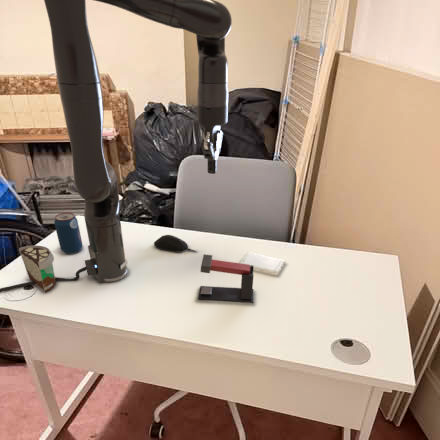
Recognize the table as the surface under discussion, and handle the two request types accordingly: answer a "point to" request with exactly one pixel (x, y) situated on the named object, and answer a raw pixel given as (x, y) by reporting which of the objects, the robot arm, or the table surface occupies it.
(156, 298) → the table surface
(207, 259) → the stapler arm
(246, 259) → the hard drive
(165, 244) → the gaming mouse
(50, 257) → the food container
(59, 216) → the soda can
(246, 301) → the stapler base
